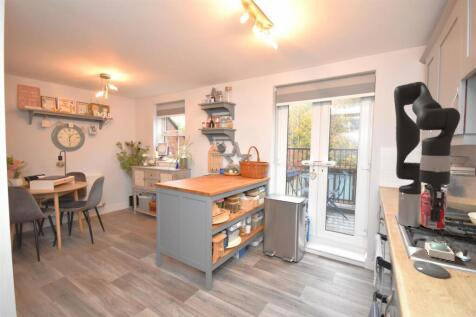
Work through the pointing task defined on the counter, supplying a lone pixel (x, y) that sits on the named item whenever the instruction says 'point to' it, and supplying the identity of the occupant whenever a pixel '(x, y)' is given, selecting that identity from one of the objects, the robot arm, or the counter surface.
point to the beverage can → (426, 212)
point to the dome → (439, 246)
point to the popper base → (439, 252)
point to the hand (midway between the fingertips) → (432, 217)
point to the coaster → (431, 269)
